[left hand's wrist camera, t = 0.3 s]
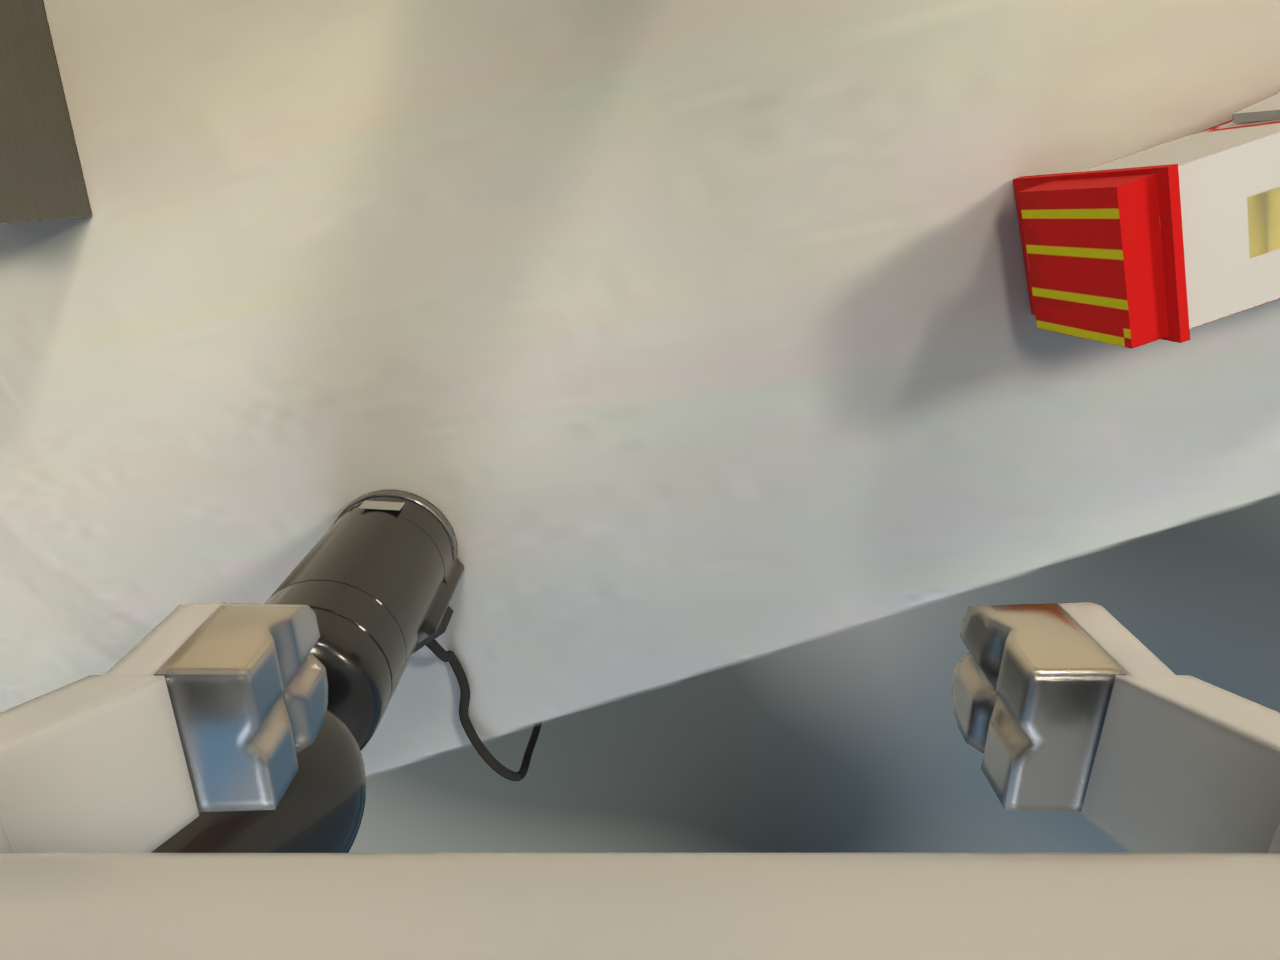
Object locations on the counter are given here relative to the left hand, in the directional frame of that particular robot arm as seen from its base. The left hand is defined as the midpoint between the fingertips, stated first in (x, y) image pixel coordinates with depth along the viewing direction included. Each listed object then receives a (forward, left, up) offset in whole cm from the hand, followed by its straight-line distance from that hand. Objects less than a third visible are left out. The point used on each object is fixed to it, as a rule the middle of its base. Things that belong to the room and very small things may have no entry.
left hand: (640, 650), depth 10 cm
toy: (-5, +39, -47) cm, 61 cm away
